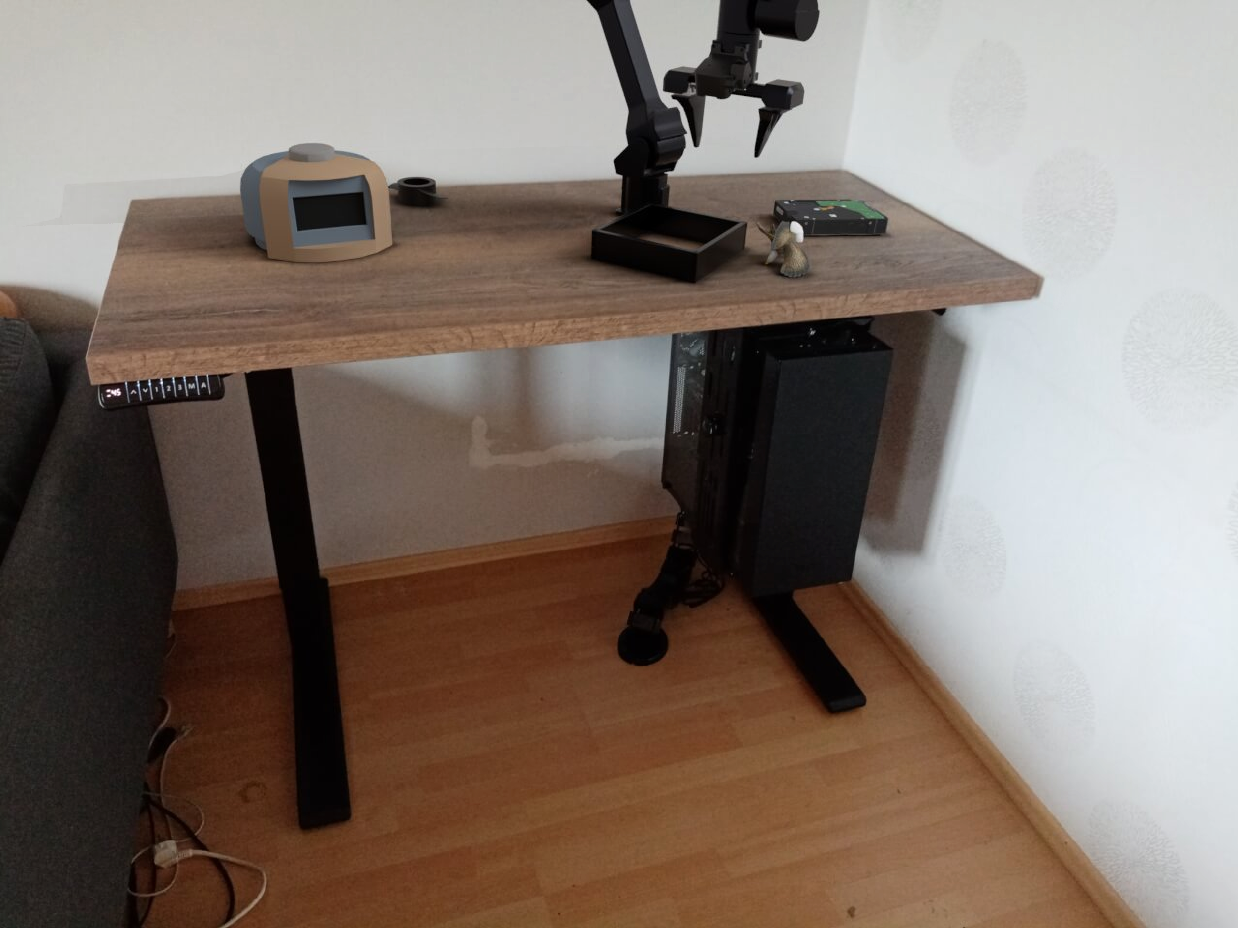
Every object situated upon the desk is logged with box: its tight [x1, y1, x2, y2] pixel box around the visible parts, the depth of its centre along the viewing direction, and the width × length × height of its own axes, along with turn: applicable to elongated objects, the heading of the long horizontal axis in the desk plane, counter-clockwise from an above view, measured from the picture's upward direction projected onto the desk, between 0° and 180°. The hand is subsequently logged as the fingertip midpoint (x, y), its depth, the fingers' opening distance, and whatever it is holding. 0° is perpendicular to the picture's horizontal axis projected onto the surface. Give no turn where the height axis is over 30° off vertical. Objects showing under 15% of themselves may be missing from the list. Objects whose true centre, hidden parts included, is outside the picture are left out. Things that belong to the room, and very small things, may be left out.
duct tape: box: [388, 176, 449, 207], centre depth 150 cm, size 8×10×3 cm
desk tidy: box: [590, 202, 748, 284], centre depth 134 cm, size 16×17×4 cm
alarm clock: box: [239, 142, 393, 263], centre depth 131 cm, size 19×20×12 cm
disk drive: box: [772, 199, 889, 236], centre depth 150 cm, size 10×3×15 cm
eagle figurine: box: [755, 221, 810, 278], centre depth 132 cm, size 8×7×9 cm
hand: (726, 152), depth 137 cm, fingers open, 9 cm apart
